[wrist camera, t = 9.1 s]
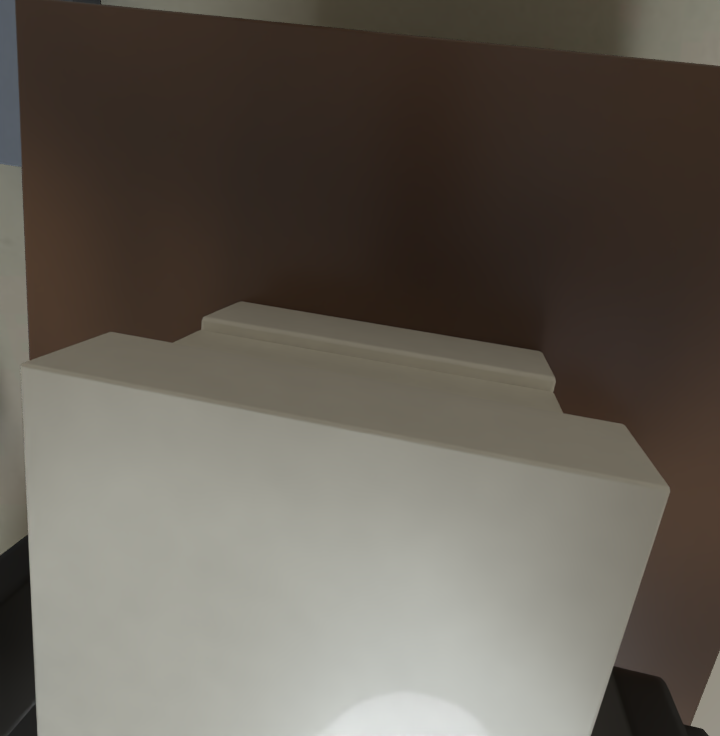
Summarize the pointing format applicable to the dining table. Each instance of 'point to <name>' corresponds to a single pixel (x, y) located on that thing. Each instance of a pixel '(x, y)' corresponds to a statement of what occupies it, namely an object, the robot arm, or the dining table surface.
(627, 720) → the robot arm
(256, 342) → the white books
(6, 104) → the grey books
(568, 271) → the shelf
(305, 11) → the dining table surface
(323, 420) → the white book
